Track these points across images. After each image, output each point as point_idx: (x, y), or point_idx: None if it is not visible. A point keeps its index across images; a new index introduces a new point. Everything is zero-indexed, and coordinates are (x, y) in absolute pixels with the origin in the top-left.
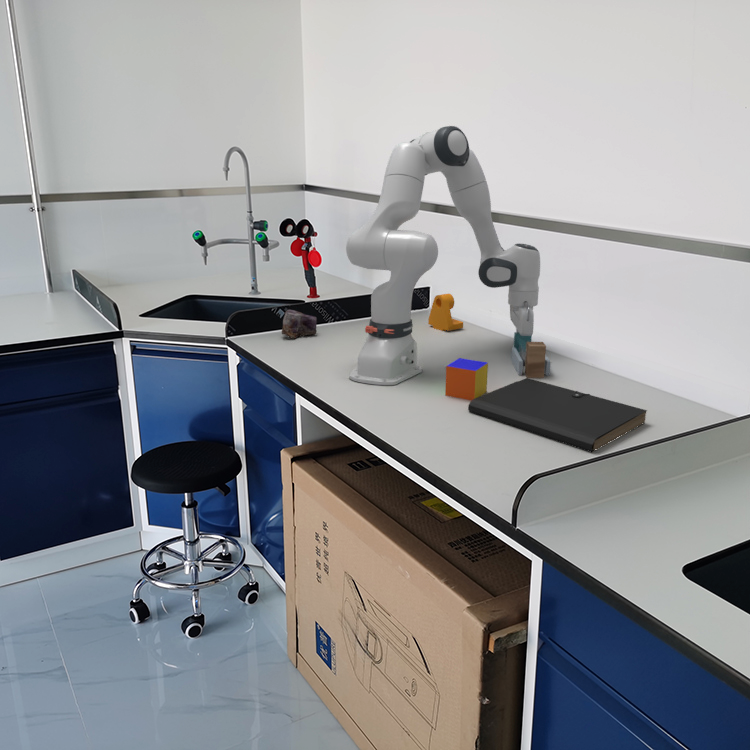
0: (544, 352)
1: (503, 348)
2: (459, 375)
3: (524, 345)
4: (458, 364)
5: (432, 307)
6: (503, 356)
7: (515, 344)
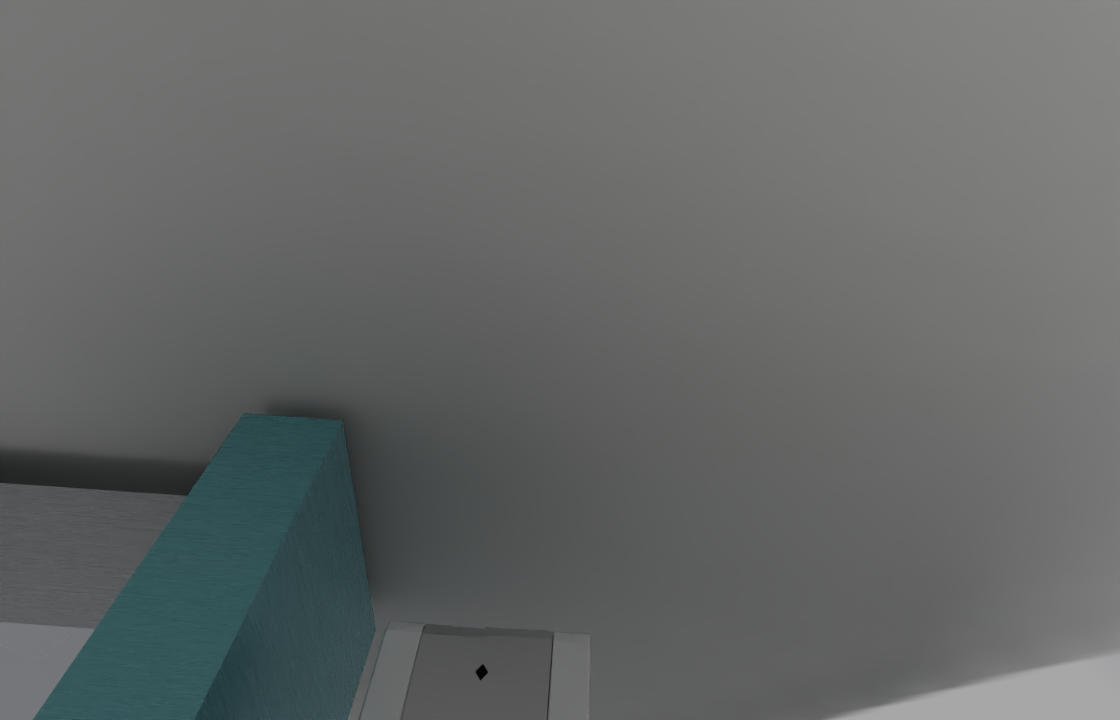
0: None
1: (692, 291)
2: None
3: (47, 684)
4: None
5: None
6: (42, 169)
7: (159, 563)
